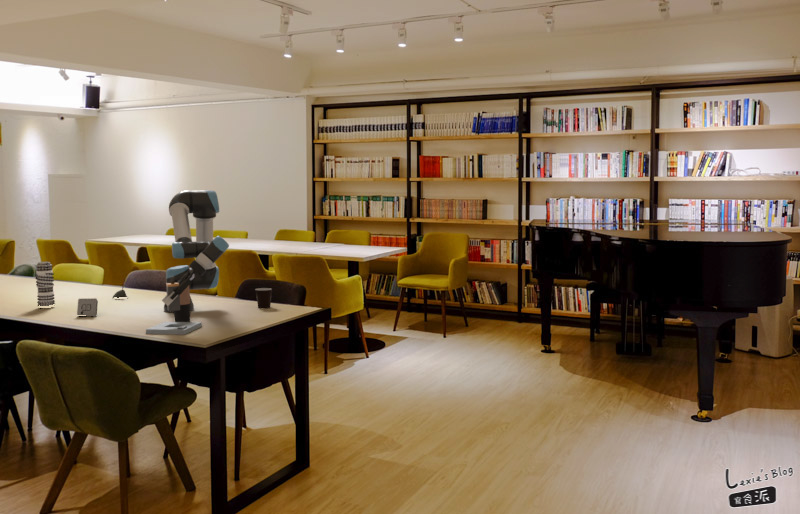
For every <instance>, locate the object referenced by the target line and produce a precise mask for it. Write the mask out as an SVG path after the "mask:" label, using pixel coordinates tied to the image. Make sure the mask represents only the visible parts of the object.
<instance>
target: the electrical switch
mask: <svg viewBox="0 0 800 514" xmlns="http://www.w3.org/2000/svg"><path fill="white" fill-rule="evenodd" d="M98 303H99V302H98V299H97V298H96V297H95V298H94V297H93V298H78V300H77V310H76V312H77V313H76V316H77V315H86V316H95V317H97V316H98ZM96 315H97V316H96Z"/></svg>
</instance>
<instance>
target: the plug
mask: <svg viewBox="0 0 800 514" xmlns="http://www.w3.org/2000/svg"><path fill="white" fill-rule="evenodd" d="M165 285H166V295H167V297H168V296H169V295H170V294H171V293H172V292H173V290H176V289H177V288H178V286H179V283H175V282H174V277H171V283H166V282H165ZM167 310H168V311H177V310H180V295H178V296H177V297H176V298H175V299H174V300H173V301H172V303H171V304H170V305H169V306H167Z"/></svg>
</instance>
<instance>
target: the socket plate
mask: <svg viewBox="0 0 800 514" xmlns="http://www.w3.org/2000/svg"><path fill="white" fill-rule="evenodd" d="M201 327H202V322H201V321H198V322H197V321H196V322H195V321H189V322H175V321H163V322H160V323H158V324H155V325H154V326H151V327H148V328H146V329H145V334H147V335H150V334H151V335H182V336H183V335H186V334H188V333H190V332H193V331H195V330H197V329H200V328H201Z"/></svg>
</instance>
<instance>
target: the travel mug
mask: <svg viewBox="0 0 800 514" xmlns="http://www.w3.org/2000/svg"><path fill="white" fill-rule="evenodd" d="M178 281H179V280H174V282H175V283H177V282H178ZM190 297H191V292H189V286H188V287H187V288H186V289H185V290H184V291H183V292H182V293H181V294H180V310H177V311H174V312H173V315H174V322H191V311H190Z"/></svg>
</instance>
